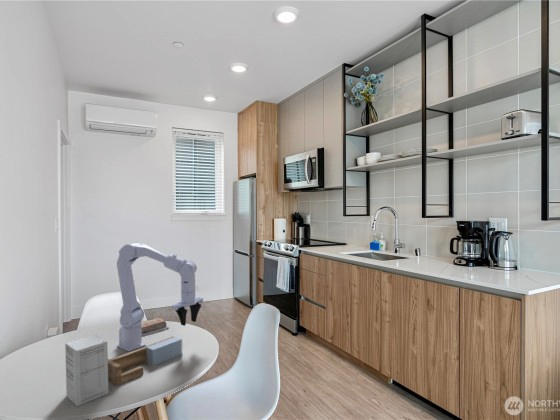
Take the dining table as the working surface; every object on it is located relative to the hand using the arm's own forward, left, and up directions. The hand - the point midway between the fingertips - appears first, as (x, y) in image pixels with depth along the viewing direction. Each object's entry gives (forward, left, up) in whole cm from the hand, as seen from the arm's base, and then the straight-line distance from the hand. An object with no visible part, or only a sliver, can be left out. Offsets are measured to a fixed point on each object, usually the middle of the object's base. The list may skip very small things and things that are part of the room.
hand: (188, 323), depth 142 cm
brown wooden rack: (0, -19, -10) cm, 22 cm away
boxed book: (0, -12, -11) cm, 16 cm away
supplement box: (+3, -42, -11) cm, 43 cm away
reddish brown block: (-33, +1, -11) cm, 35 cm away
